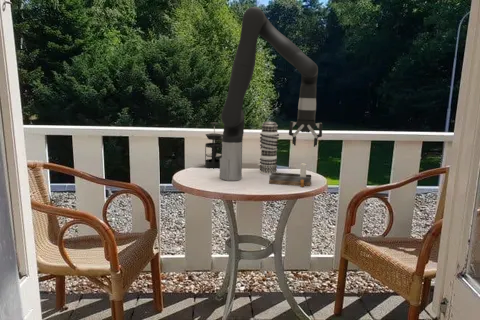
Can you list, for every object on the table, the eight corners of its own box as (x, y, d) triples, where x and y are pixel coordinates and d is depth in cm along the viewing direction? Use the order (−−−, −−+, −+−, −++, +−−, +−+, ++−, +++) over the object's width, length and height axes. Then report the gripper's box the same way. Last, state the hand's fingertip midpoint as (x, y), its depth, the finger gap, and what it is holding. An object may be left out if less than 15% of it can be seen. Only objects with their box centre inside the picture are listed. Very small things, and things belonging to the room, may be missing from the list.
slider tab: (296, 180, 184) (297, 164, 183) (297, 178, 189) (298, 162, 187) (308, 181, 183) (309, 165, 182) (308, 178, 188) (309, 163, 186)
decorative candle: (276, 175, 202) (279, 123, 197) (257, 174, 203) (259, 122, 198) (278, 171, 210) (280, 121, 206) (259, 170, 212) (261, 120, 207)
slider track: (268, 184, 183) (268, 176, 182) (271, 179, 193) (271, 171, 193) (310, 187, 179) (310, 179, 179) (310, 181, 190) (311, 174, 189)
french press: (202, 168, 213) (203, 123, 208) (204, 164, 222) (204, 121, 218) (225, 169, 213) (226, 123, 208) (226, 165, 222) (227, 122, 218)
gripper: (323, 109, 182) (321, 145, 185) (291, 107, 185) (288, 143, 188) (323, 110, 175) (321, 148, 178) (289, 108, 178) (287, 146, 181)
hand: (304, 145), depth 183 cm, fingers open, 8 cm apart
